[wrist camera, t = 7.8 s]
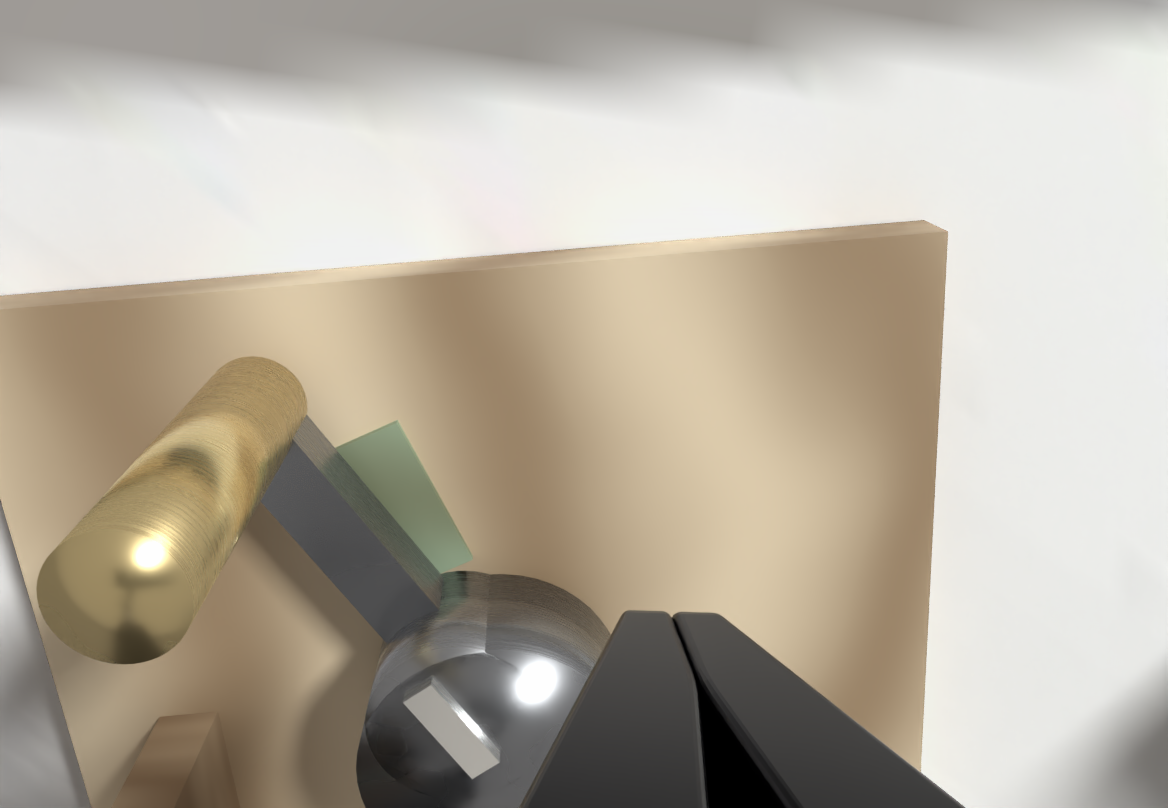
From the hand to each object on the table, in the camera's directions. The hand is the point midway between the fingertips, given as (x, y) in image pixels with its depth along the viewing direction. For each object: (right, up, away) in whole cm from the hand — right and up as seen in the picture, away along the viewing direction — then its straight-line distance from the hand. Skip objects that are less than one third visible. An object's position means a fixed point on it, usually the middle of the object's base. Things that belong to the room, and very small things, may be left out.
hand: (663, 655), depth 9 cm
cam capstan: (-4, -1, +11) cm, 12 cm away
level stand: (-2, -3, +13) cm, 14 cm away
